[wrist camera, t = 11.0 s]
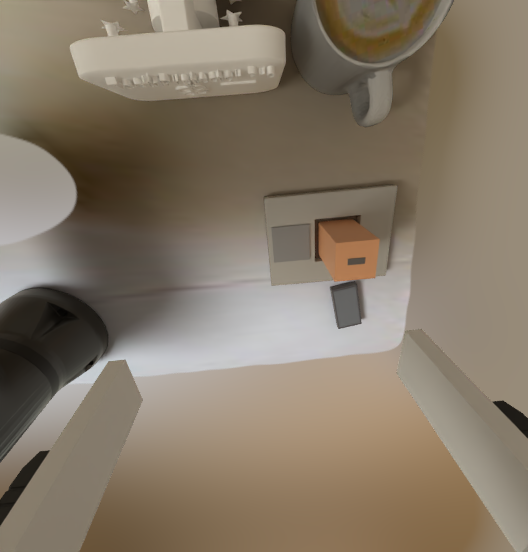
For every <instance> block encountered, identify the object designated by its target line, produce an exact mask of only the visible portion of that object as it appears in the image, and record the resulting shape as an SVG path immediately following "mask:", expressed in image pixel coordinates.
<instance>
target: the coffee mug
mask: <svg viewBox="0 0 528 552" xmlns="http://www.w3.org/2000/svg"><path fill="white" fill-rule="evenodd" d="M453 2H454V0H297V2H296V6H295V10H294V14H293V18H292V24H291V48H292V54H293V58H294V61H295V64H296V66H297V68H298V70H299V72H300V74H301V76H302V77H303V78H304V80H305V81H306V82H307V83H308V84H309V85H310V86H311V87H312V88H314V89H316V90H317V91H319V92H322V93H324V94H329V95H341V94H346V93H349V97H350V102H351V108H352V112H353V116H354V119H355V121H356V122H357V123H358V125H360V126H363V127H368V126H372V125H376V124H378V123H380V122H381V121H383V120H384V119H385V118H386V117H387V115H388V113H389V111H390V109H391V104H392V98H393V84H392V72H393V69H394V68H395V67H396V65H397V64H399V63H400V62H402V61H404V60H405V59H407V58H408V57H409V56H411V55H412V54H414V53H415V52H416V51H417V50H418V49H420V48H421V47H422V46H423V45H424V44H425V43H426V42H427V41H428V40H429V39H430V38H431V37H432V36H433V34H434V33H435V31H436V30H437V29H438V27H439V26H440V24H441V23H442V22H443V20H444V19H445V17H446V15H447V13H448V12H449V10H450V8H451V6H452V4H453Z"/></svg>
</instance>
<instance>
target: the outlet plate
mask: <svg viewBox="0 0 528 552" xmlns="http://www.w3.org/2000/svg"><path fill="white" fill-rule="evenodd" d="M397 187H398V186H397V185H393V184H392V185H382V186H372V187H362V188H351V189H341V190H331V191H321V192H311V193H301V194H290V195H280V196H270V197H264V206H265V217H266V229H267V240H268V251H269V262H270V274H271V284H272V286H276V285H287V284H298V283H308V282H319V281H330V280H333V278H332V276H331V275H330V273H329V271H328V269H327V268H326V266H325V264H324V262H323V261H322V259H321V258H315V219H324V218H335V217H345V216H355V215H357V223H359V224H360V225H361V226H363V227H364V228H365V229H367V230H368V231H369V232H371V233H372V234H374V235H375V236H376V237H378V238H379V239H380V242H379V250H378V259H377V267H376V276H385V275H386V267H387V260H388V253H389V245H390V238H391V231H392V223H393V216H394V209H395V201H396V194H397Z"/></svg>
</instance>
